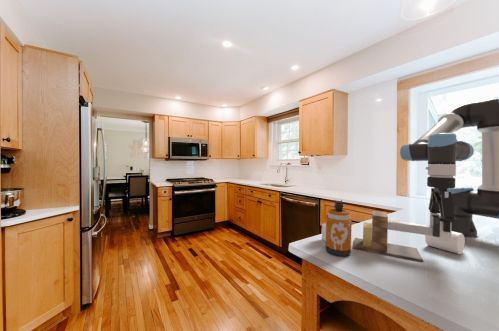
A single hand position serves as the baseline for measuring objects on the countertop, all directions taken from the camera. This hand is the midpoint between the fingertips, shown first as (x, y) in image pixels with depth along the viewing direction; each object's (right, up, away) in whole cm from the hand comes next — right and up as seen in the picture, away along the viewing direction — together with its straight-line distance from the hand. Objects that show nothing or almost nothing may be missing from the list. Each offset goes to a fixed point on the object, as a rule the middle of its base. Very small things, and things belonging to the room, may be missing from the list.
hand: (439, 235), depth 76 cm
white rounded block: (+12, -9, +10) cm, 18 cm away
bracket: (-14, -8, +8) cm, 19 cm away
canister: (-34, -8, +6) cm, 36 cm away
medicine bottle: (-32, -8, +16) cm, 37 cm away
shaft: (-7, 0, +4) cm, 8 cm away
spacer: (-20, -3, +11) cm, 23 cm away
